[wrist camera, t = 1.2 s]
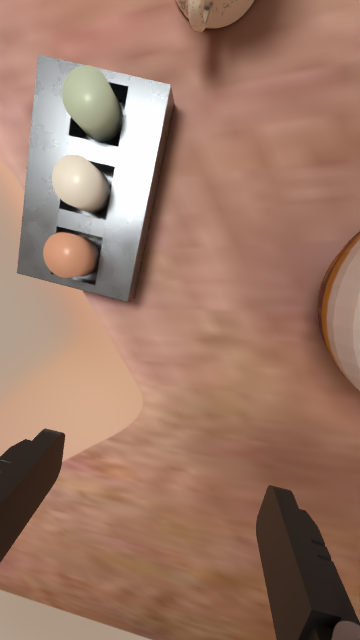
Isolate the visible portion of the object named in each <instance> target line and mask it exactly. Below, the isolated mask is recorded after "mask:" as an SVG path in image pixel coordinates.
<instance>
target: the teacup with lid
mask: <svg viewBox="0 0 360 640" xmlns="http://www.w3.org/2000/svg"><path fill="white" fill-rule="evenodd" d="M176 2H177V4H178V6H179V8H180V9H181V11H182V12H183V14H184V15H185V16H186V17H187V18H188V19H189V22H190V26H191V28H192V30H194V31H197V32H202V31H204V29H205V28H213V29H214V28H221V27H225V26H227V25H230V24H232V23H233V22H235V21H237V20H238V19H239V18H240V17H242V16H243V15H244V14H245V13H246V12H247V10H248V9H249V8H250V7H251V5H252V4H253V2H254V0H176Z"/></svg>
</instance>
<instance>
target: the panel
mask: <svg viewBox="0 0 360 640" xmlns="http://www.w3.org/2000/svg"><path fill="white" fill-rule="evenodd" d="M79 66H83V65H82V64H77V63H73V62H69V61H64V60H60V59H55V58H51V57H47V56H42V55H38V62H37V72H36V82H35V93H34V103H33V113H32V124H31V134H30V145H29V155H28V165H27V176H26V186H25V197H24V208H23V217H22V228H21V238H20V248H19V259H18V269H17V273H19V274H22V275H26V276H30V277H34V278H38V279H42V280H45V281H49V282H53V283H57V284H61V285H65V286H68V287H72V288H76V289H80V290H84V291H88V292H91V293H95V294H99V295H103V296H107V297H111V298H114V299H118V300H122V301H126V302H128V301H130V300H132V299H134V298H135V293H136V288H137V284H138V279H139V274H140V269H141V264H142V259H143V254H144V250H145V245H146V240H147V235H148V230H149V225H150V220H151V215H152V211H153V206H154V201H155V196H156V191H157V186H158V181H159V177H160V172H161V167H162V162H163V157H164V152H165V147H166V143H167V138H168V133H169V128H170V123H171V118H172V113H173V108H174V99H173V94H172V89H171V85H170V84H166V83H161V82H157V81H152V80H148V79H144V78H139V77H135V76H130V75H126V74H122V73H117V72H113V71H108V70H104V69H100V68H97V69H98V70H99V71H101V72H102V73H103V75H104V76H105V77H106V79H107V81H108V83H109V85H110V87H111V88H112V90H113V92H114V94H115V96H116V98H117V100H118V102H119V104H120V106H121V108H122V112H123V122H122V126H121V129H120V131H119V132H118V134H117V135H116V136H115V137H114V138H113V139H111V140H109V141H105V142H99V141H95V140H93V139H92V138H90V137H89V136H88V135H87V134H86V133H85V132H84V131H83V129H82V128H81V127H80V126H79V125H78V124H77V123H76V122H75V121H74V120H73V118H72V117H71V116H70V115H69V114H68V112H67V111H66V109H65V107H64V104H63V100H62V88H63V84H64V81H65V79H66V77H67V75H68V74H69V73H70V72H71V71H72V70H73V69H75V68H77V67H79ZM72 154H73V155H79V156H82V157H84V158H86V159H87V160H88V161H89V162H90V163H91V164H93V165H94V166H95V167H96V168H97V169H98V170H99V171H100V172H102V173H103V174H104V175H105V176H106V178H107V180H108V182H109V184H110V190H111V193H110V199H109V201H108V203H107V205H106V206H105V207H104V208H103V209H102V210H100V211H98V212H95V213H89V212H85V211H83V210H80V209H78V208H76V207H73V206H71V205H69V204H67V203H65V202H63V201H62V200H61V199H60V198H59V197H58V196H57V194H56V192H55V190H54V188H53V184H52V173H53V170H54V167H55V165H56V164H57V162H58V161H59V160H60V159H61V158H63V157H65V156H67V155H72ZM60 232H65V233H70V234H74V235H79V236H83V237H86V238H88V239H90V240H91V241H92V242H93V243H94V244H95V245H96V247H97V249H98V251H99V258H100V259H99V264H98V267H97V268H96V270H95V271H94V272H93V273H91V274H90V275H87V276H80V277H70V278H63V277H59V276H57V275H55V274H54V273H53V272H51V271H50V270H49V268H48V267H47V265H46V263H45V261H44V256H43V250H44V245H45V243H46V241H47V240H48V239H49V237H51V236H52V235H54V234H56V233H60Z"/></svg>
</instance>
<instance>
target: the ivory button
mask: <svg viewBox="0 0 360 640" xmlns="http://www.w3.org/2000/svg"><path fill="white" fill-rule="evenodd" d="M52 184H53V188H54V190H55V192H56V194H57V196H58V197H59V198H60V199H61V200H62V201H63V202H65V203H67V204H69V205H71V206H73V207H76V208H78V209H80V210H83V211H85V212H89V213H95V212H98V211H100V210H102V209H103V208H104V207H105V206H106V205H107V203H108V201H109V199H110V193H111V190H110V184H109V182H108V180H107V178H106V176H105V175H104V174H103V173H102V172H100V171H99V170H98V169H97V168H96V167H95V166H94V165H93V164H91V163H90V162H89V161H88V160H87V159H86V158H84V157H82V156H79V155H73V154H72V155H67V156H65V157H63V158H61V159H60V160H59V161H58V162H57V164H56V165H55V167H54V170H53V173H52Z"/></svg>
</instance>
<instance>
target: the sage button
mask: <svg viewBox="0 0 360 640" xmlns="http://www.w3.org/2000/svg"><path fill="white" fill-rule="evenodd" d="M62 100H63V104H64V107H65V109H66V111H67V112H68V114H69V115H70V116H71V117H72V118H73V120H74V121H75V122H76V123H77V124H78V125H79V126H80V127H81V128H82V129H83V131H84V132H85V133H86V134H87V135H88V136H89V137H90V138H92V139H93V140H95V141H99V142H105V141H109V140H111V139H113V138H114V137H115V136H116V135H117V134H118V132H119V131H120V129H121V126H122V122H123V112H122V108H121V106H120V104H119V102H118V100H117V98H116V96H115V94H114V92H113V90H112V88H111V87H110V85H109V83H108V81H107V79H106V77H105V76H104V75H103V73H102V72H101V71H99V70H98V69H97V68H95V67H92V66H88V65H83V66H79V67H77V68H75V69H73V70H72V71H71V72H70V73H69V74H68V75H67V77H66V79H65V81H64V84H63V88H62Z"/></svg>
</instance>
